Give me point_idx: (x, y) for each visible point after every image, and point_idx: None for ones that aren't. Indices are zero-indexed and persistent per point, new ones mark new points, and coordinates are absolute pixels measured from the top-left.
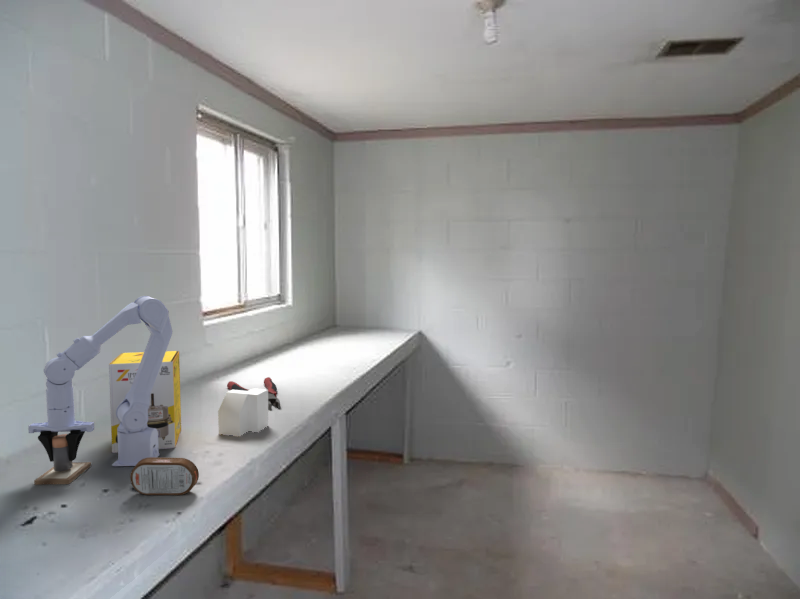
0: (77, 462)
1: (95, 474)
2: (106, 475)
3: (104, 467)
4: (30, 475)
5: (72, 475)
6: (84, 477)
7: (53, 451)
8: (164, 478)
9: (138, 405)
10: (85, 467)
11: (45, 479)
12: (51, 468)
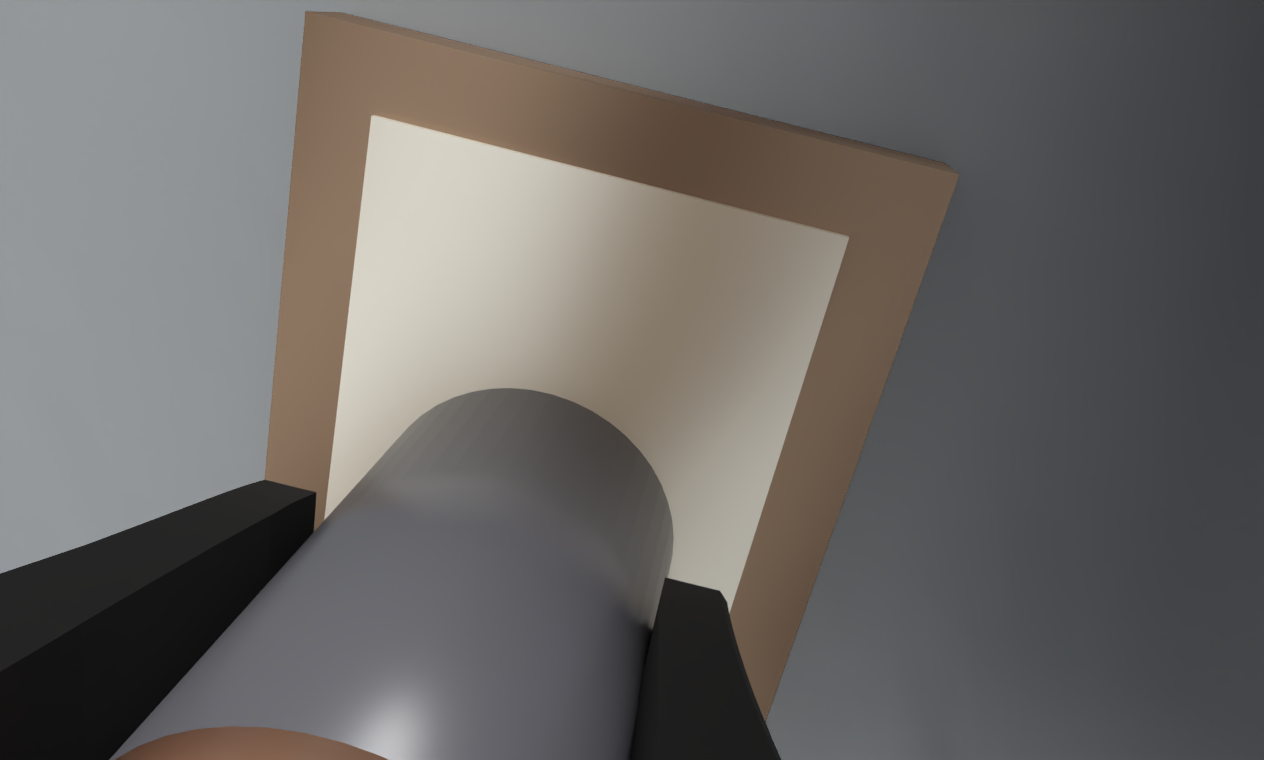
0: (674, 112)
1: (1057, 592)
2: (1240, 688)
3: (1207, 317)
4: (55, 318)
5: None
6: (895, 652)
7: None
8: None
9: None
10: (876, 398)
11: None
12: (288, 308)
